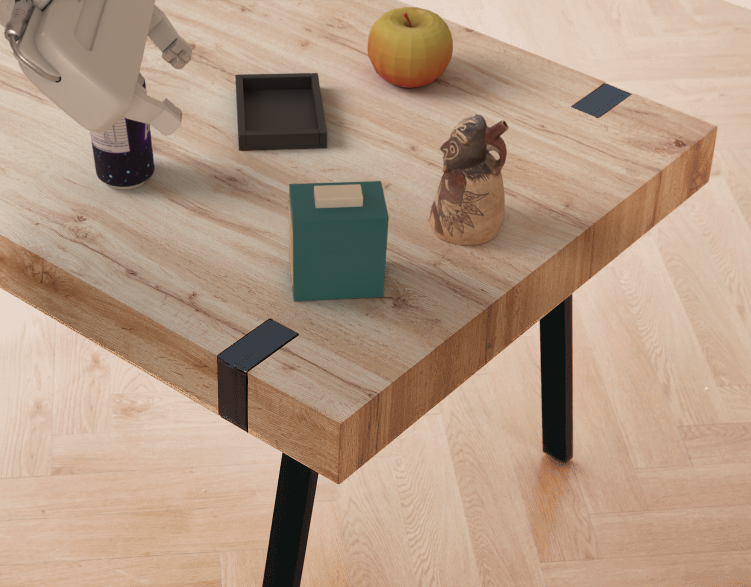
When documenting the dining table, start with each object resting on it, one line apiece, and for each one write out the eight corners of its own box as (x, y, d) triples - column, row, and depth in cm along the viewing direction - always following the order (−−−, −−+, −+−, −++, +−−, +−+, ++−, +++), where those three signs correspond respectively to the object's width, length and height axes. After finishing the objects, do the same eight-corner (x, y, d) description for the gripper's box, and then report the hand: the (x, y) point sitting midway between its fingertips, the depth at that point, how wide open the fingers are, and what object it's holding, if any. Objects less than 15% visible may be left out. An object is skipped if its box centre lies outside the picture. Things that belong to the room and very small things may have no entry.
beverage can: (160, 188, 106) (149, 82, 98) (102, 198, 105) (86, 91, 97) (148, 157, 110) (137, 52, 102) (92, 166, 109) (76, 60, 101)
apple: (350, 66, 126) (352, 3, 121) (420, 48, 130) (425, -14, 124) (394, 106, 120) (398, 41, 114) (466, 86, 124) (473, 22, 118)
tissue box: (383, 297, 96) (389, 208, 89) (292, 301, 95) (291, 212, 88) (376, 259, 100) (381, 172, 93) (289, 263, 99) (288, 175, 92)
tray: (317, 87, 122) (317, 72, 121) (326, 148, 113) (327, 132, 112) (235, 89, 121) (235, 74, 120) (238, 150, 112) (238, 135, 111)
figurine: (440, 195, 108) (451, 90, 100) (509, 210, 106) (526, 106, 98) (420, 236, 103) (430, 130, 95) (492, 253, 101) (509, 147, 93)
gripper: (28, 10, 66) (199, 144, 74) (80, -118, 82) (217, 3, 89) (-30, 72, 69) (139, 196, 76) (30, -63, 84) (167, 51, 91)
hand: (181, 91), depth 83 cm, fingers open, 8 cm apart
